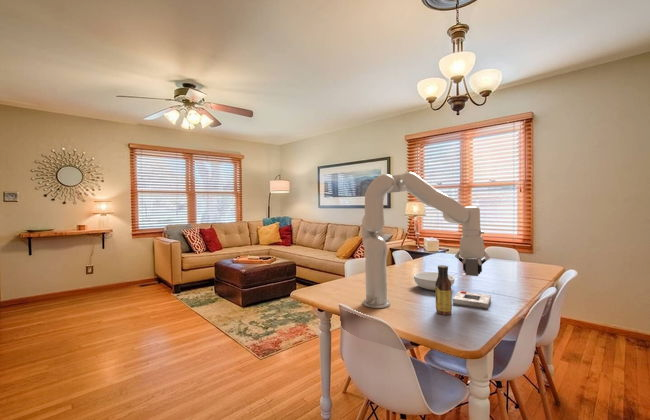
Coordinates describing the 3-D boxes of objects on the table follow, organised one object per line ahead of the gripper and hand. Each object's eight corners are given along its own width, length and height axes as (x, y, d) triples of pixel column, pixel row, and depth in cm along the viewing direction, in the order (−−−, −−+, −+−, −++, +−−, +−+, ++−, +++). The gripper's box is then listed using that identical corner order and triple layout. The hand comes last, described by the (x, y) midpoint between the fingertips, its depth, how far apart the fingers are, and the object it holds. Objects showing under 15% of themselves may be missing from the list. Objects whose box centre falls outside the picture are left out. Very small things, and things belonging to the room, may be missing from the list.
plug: (477, 276, 138) (477, 260, 138) (465, 275, 140) (465, 259, 140) (479, 273, 142) (478, 258, 142) (467, 273, 145) (467, 258, 145)
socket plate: (487, 309, 132) (487, 302, 132) (452, 304, 139) (452, 297, 139) (490, 300, 143) (490, 294, 143) (458, 296, 151) (458, 290, 151)
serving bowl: (448, 296, 152) (448, 282, 152) (407, 290, 164) (407, 277, 164) (459, 287, 168) (459, 274, 168) (421, 282, 181) (421, 270, 181)
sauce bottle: (438, 309, 133) (438, 263, 132) (453, 312, 129) (453, 265, 129) (433, 313, 128) (432, 266, 127) (448, 317, 124) (448, 267, 123)
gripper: (493, 233, 139) (494, 273, 140) (453, 232, 149) (454, 269, 149) (491, 234, 133) (492, 276, 133) (450, 233, 143) (451, 272, 143)
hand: (472, 272), depth 141 cm, fingers closed on plug, 5 cm apart
